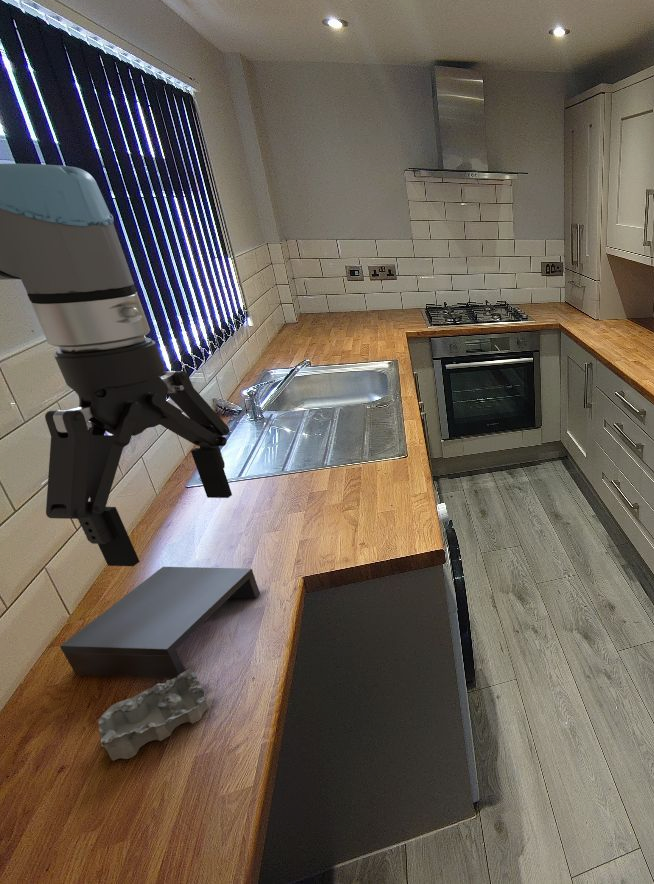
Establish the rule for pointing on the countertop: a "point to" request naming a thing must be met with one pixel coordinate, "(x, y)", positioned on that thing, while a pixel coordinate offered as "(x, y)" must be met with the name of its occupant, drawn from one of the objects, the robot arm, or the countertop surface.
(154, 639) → the shelf
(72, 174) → the robot arm
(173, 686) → the egg carton
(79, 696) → the countertop surface
